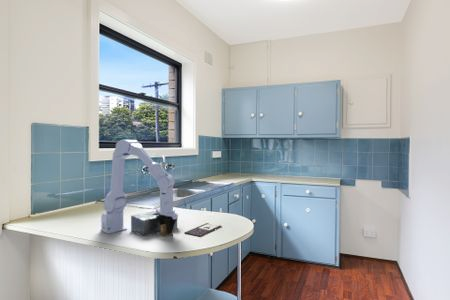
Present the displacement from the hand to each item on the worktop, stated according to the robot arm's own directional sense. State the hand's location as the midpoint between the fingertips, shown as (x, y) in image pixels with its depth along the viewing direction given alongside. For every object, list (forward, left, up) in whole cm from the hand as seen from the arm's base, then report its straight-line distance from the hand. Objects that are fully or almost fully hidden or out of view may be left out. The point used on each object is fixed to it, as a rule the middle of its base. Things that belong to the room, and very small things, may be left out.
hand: (166, 232), depth 127 cm
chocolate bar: (+17, -6, -2) cm, 18 cm away
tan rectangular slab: (0, 0, -2) cm, 2 cm away
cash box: (+1, +12, -1) cm, 12 cm away
